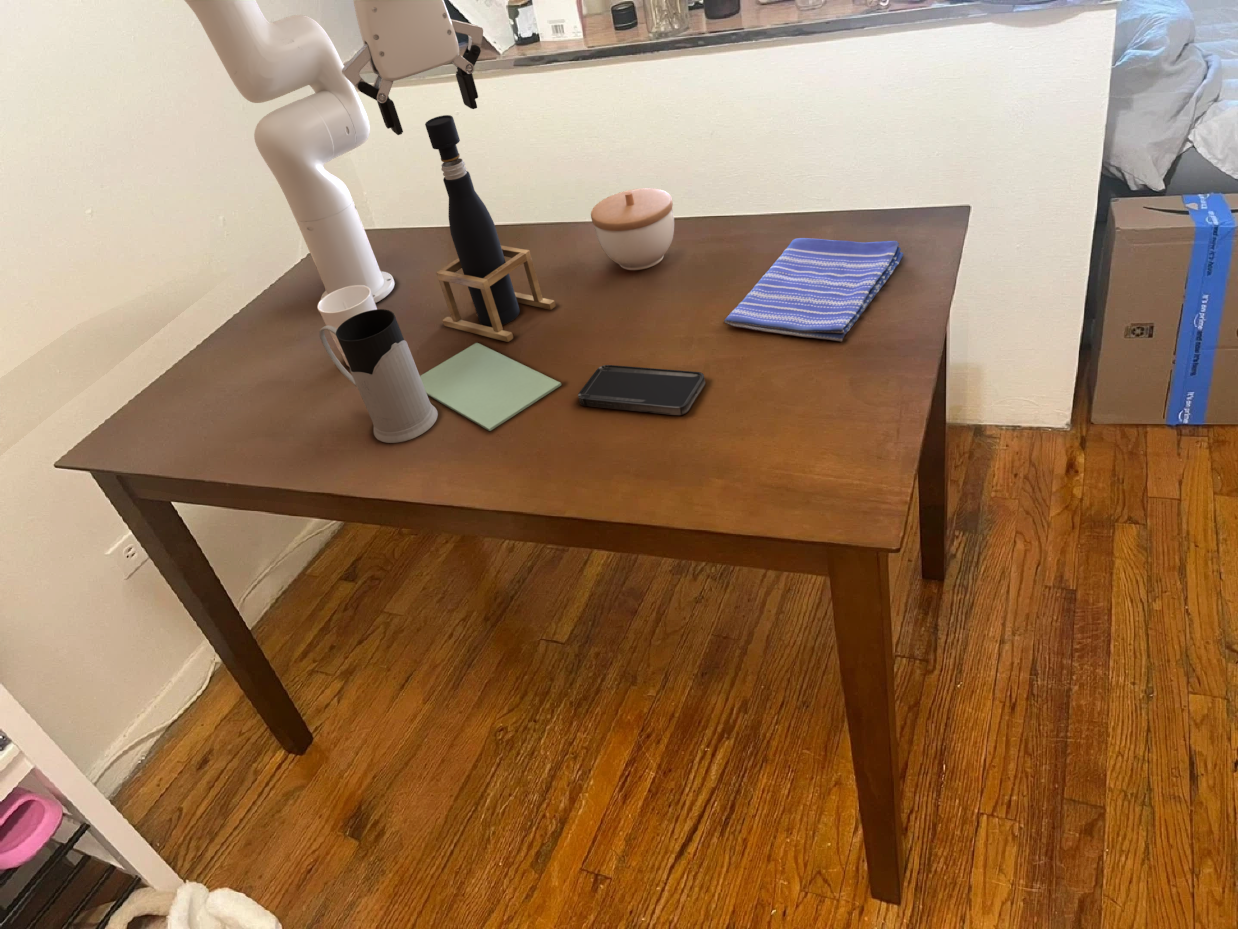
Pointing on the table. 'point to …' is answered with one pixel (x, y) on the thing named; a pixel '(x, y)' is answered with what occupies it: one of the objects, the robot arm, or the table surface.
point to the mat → (486, 385)
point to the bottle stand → (490, 293)
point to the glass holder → (383, 375)
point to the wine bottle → (471, 225)
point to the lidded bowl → (635, 227)
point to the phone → (642, 389)
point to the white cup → (345, 307)
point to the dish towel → (817, 288)
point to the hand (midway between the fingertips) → (434, 119)
